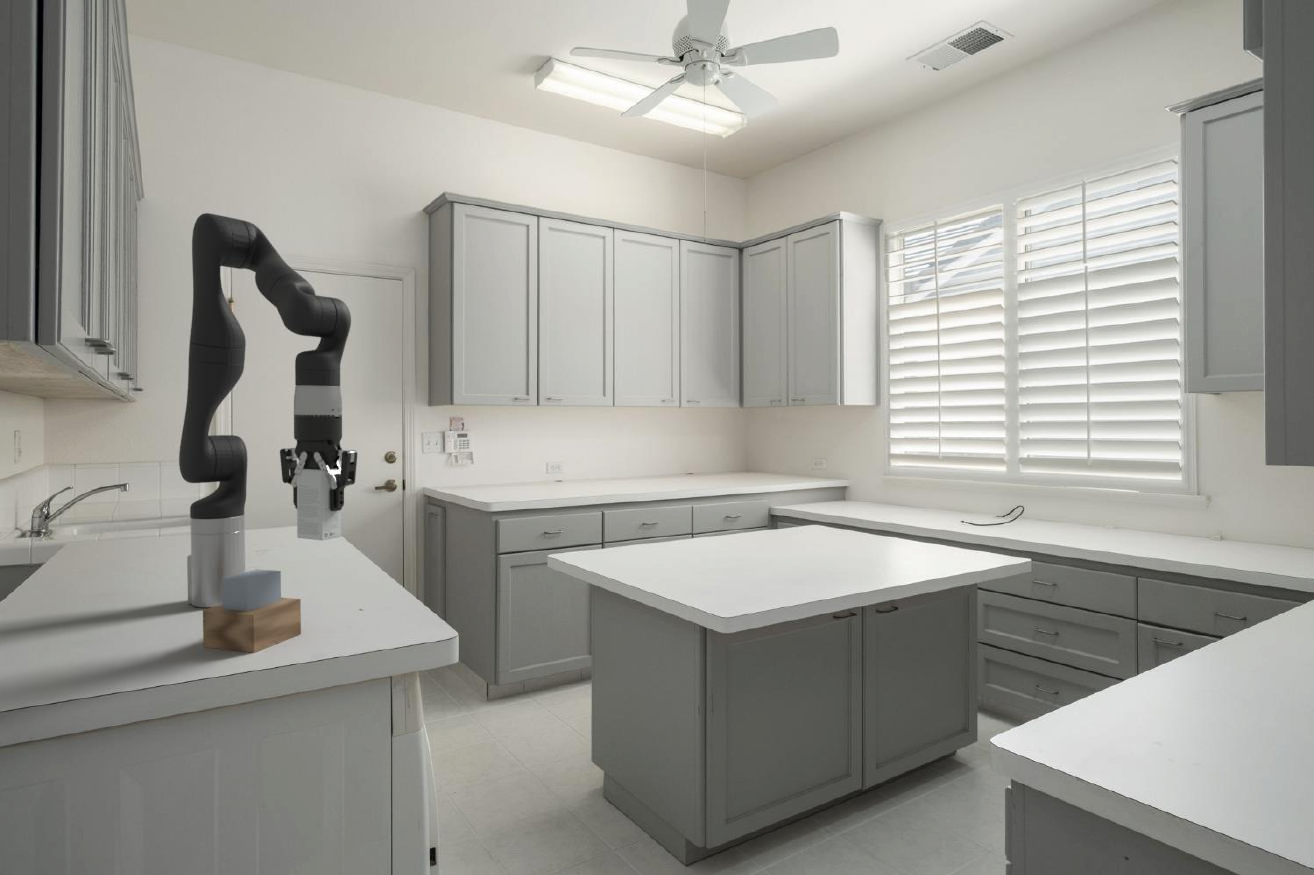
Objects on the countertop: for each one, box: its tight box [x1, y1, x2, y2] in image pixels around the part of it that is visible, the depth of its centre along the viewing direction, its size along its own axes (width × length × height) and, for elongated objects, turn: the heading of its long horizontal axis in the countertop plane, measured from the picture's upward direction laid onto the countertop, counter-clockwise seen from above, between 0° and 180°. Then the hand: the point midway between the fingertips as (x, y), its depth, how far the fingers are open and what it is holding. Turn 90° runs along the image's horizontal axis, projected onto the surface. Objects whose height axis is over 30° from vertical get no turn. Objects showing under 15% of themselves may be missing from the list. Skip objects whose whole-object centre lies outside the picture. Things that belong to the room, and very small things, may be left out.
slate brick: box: [222, 568, 282, 611], centre depth 120 cm, size 5×7×5 cm
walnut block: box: [202, 597, 302, 653], centre depth 120 cm, size 10×10×6 cm
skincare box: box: [296, 469, 342, 541], centre depth 125 cm, size 6×4×12 cm
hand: (318, 509), depth 125 cm, fingers closed on skincare box, 6 cm apart
